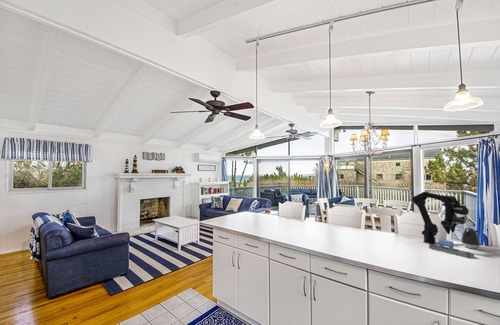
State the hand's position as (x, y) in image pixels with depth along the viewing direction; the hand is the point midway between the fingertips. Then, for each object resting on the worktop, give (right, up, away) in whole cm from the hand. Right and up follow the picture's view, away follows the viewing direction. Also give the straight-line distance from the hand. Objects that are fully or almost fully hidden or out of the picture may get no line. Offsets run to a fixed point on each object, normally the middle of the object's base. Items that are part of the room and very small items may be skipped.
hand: (450, 233), depth 165 cm
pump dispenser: (+18, -12, +3) cm, 22 cm away
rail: (-7, -12, -7) cm, 16 cm away
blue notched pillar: (-3, -12, +1) cm, 12 cm away
